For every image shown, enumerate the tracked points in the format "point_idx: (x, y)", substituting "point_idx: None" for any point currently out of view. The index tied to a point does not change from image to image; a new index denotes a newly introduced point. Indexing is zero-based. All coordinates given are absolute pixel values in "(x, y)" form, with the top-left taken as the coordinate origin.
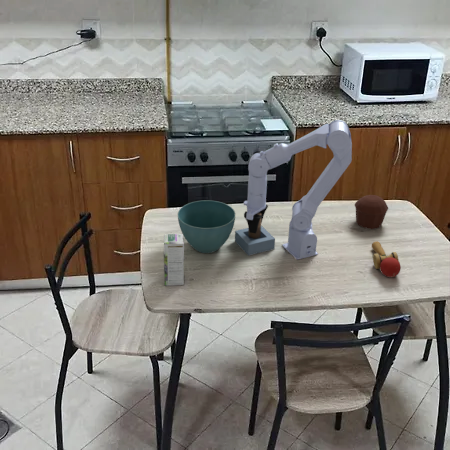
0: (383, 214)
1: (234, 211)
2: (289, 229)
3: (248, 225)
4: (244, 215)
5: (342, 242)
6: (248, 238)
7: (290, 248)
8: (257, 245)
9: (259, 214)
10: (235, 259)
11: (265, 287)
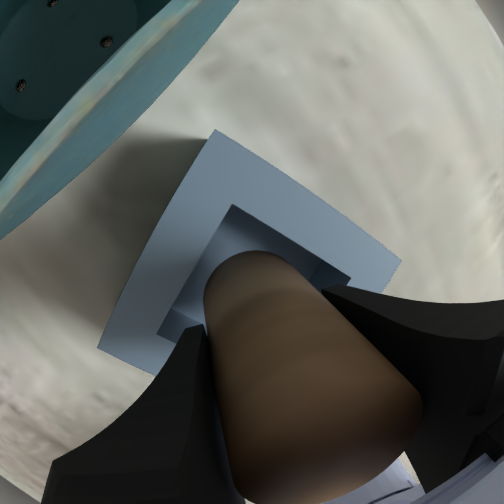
0: None
1: (93, 92)
2: (335, 500)
3: (158, 375)
4: (45, 491)
5: (407, 461)
6: (170, 300)
7: None
8: None
9: (343, 483)
10: (40, 270)
11: (21, 447)
